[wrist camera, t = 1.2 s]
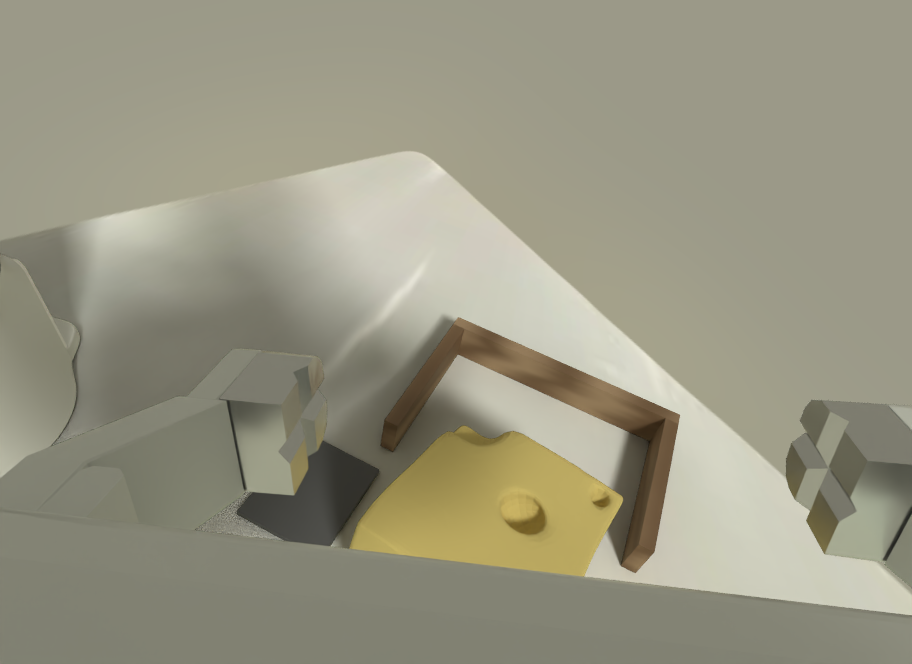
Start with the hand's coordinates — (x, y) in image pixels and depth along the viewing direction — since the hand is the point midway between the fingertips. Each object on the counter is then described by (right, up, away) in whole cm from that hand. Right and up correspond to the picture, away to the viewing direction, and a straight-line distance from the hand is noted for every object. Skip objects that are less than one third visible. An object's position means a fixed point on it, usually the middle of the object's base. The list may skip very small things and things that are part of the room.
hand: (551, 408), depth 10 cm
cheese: (-1, -15, +25) cm, 29 cm away
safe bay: (+4, -7, +34) cm, 35 cm away
